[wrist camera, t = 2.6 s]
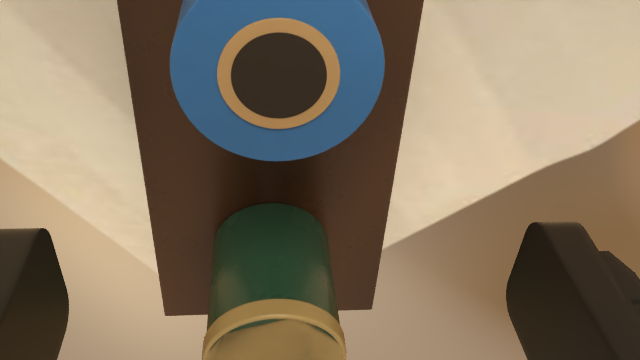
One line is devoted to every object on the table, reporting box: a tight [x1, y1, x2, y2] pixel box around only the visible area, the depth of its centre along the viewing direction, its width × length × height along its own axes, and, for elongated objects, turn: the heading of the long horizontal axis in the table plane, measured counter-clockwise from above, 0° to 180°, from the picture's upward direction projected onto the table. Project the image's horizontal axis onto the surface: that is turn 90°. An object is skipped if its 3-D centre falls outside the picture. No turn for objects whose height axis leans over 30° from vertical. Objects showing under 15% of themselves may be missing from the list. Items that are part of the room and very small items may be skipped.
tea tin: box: [202, 203, 346, 360], centre depth 24 cm, size 5×5×6 cm
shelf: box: [117, 0, 424, 316], centre depth 28 cm, size 10×20×12 cm, turn 177°
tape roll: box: [170, 0, 385, 161], centre depth 18 cm, size 6×6×5 cm
